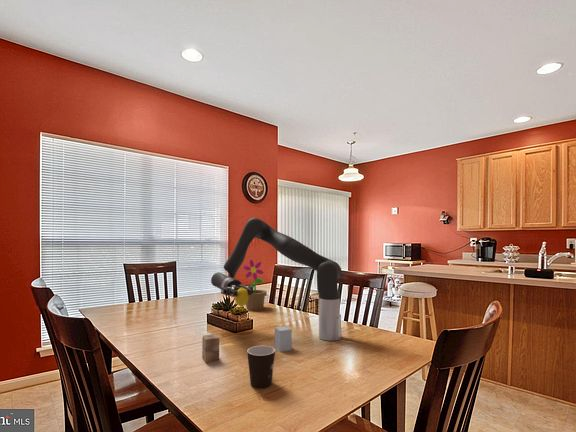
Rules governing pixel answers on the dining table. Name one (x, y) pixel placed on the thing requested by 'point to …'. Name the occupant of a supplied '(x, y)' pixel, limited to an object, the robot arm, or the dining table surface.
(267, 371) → the coffee mug
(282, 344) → the slate block
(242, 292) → the lemon
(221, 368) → the dining table surface
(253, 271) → the flowerpot
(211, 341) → the walnut block
